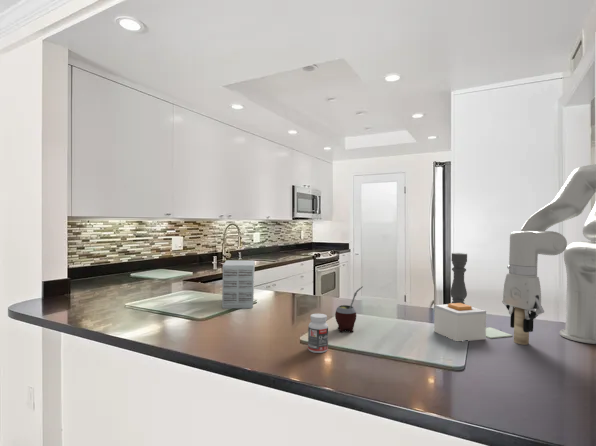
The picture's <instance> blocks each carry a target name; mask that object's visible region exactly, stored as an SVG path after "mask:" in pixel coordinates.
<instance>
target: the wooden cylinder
mask: <svg viewBox="0 0 596 446" xmlns="http://www.w3.org/2000/svg"><path fill="white" fill-rule="evenodd" d="M514 308H515V311H514V328H513V343H515V344H517V345H525V346H527V345H529V343H530V332H524V331H523V324H524V319H526V318H525V311H524V309H521V308H517V307H514ZM529 312H530V311H529Z"/></svg>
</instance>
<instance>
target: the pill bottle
mask: <svg viewBox="0 0 596 446" xmlns="http://www.w3.org/2000/svg"><path fill="white" fill-rule="evenodd" d="M309 318H310V322H309V323H308V329H307V349H308V351H309V352H311V353H315V354H322V353H326V352H327V351H328V350H329V325H328V323H327V320H328V316H327V314H324V313H312V314H310V317H309Z"/></svg>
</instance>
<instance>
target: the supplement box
mask: <svg viewBox="0 0 596 446" xmlns="http://www.w3.org/2000/svg"><path fill="white" fill-rule="evenodd" d="M254 289H255V260H243V259H242V260H241V259H239V260H235V259H234V260H233V259H232V260H231V259H230V260H228V259H227V260H225V262H224V263H223V265H222V290H221V291H222V294H221V295H222V299H221V300H222V301H221V308H222V309H253V308H254V300H255V299H254V298H255V297H254V294H255V292H254V291H255V290H254Z"/></svg>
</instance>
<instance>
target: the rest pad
mask: <svg viewBox="0 0 596 446" xmlns="http://www.w3.org/2000/svg"><path fill="white" fill-rule="evenodd" d="M510 337H513V334H511V333H508V332H505V331H501V330H499V329H497V328H494V327H490V326H489V327H486V338H488V339H500V338H501V339H502V338H510Z"/></svg>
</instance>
